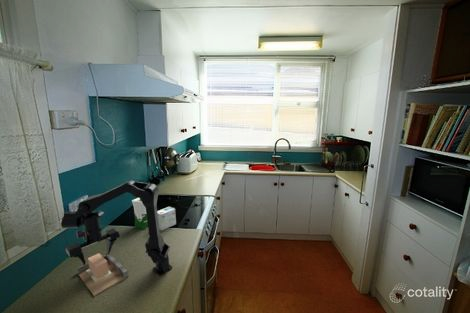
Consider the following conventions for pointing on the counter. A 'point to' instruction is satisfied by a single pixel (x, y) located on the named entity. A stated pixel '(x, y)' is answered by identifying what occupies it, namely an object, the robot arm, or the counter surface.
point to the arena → (105, 282)
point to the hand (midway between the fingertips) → (96, 259)
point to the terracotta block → (98, 266)
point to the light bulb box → (166, 218)
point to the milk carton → (140, 214)
